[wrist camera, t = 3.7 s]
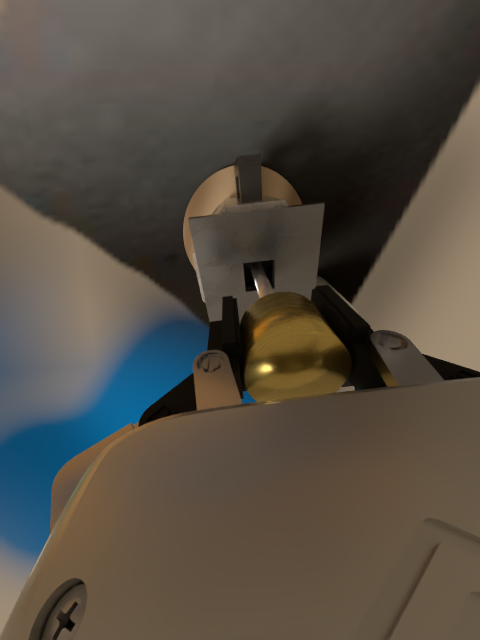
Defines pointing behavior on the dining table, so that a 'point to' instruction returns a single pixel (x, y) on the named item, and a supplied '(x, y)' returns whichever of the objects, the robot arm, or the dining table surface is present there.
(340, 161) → the dining table surface
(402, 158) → the dining table surface
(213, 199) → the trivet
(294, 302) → the plunger
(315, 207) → the grey handled container
